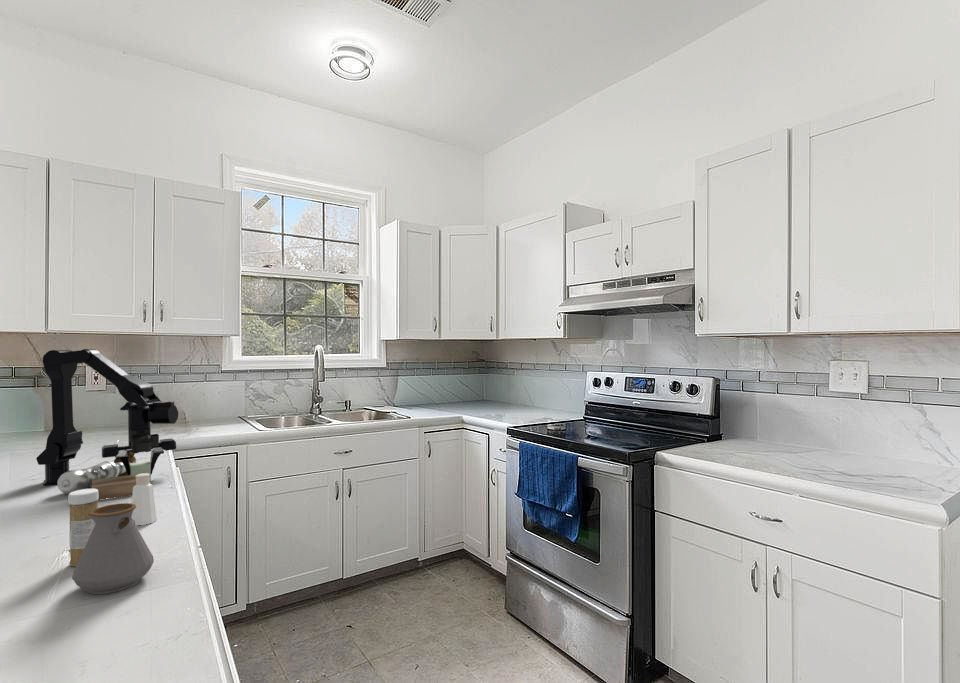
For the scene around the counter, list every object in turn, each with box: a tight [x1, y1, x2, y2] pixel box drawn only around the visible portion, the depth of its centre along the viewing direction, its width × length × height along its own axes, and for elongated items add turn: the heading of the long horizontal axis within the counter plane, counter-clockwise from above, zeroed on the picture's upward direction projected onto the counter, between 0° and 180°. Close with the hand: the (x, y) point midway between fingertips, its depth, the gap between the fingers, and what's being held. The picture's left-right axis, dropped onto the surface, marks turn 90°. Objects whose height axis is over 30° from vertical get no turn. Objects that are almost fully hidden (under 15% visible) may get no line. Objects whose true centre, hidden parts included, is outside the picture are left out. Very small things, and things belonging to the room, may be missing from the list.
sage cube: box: [130, 460, 152, 482], centre depth 161 cm, size 5×5×5 cm
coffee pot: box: [72, 502, 155, 595], centre depth 87 cm, size 21×12×15 cm, turn 40°
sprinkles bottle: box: [67, 488, 99, 567], centre depth 100 cm, size 5×5×14 cm
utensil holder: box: [113, 440, 137, 477], centre depth 169 cm, size 6×6×12 cm
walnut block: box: [90, 475, 136, 501], centre depth 147 cm, size 10×10×4 cm
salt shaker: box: [131, 473, 158, 527], centre depth 123 cm, size 5×5×11 cm
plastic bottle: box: [56, 460, 126, 495], centre depth 155 cm, size 6×7×20 cm
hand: (140, 476), depth 161 cm, fingers closed on sage cube, 5 cm apart
